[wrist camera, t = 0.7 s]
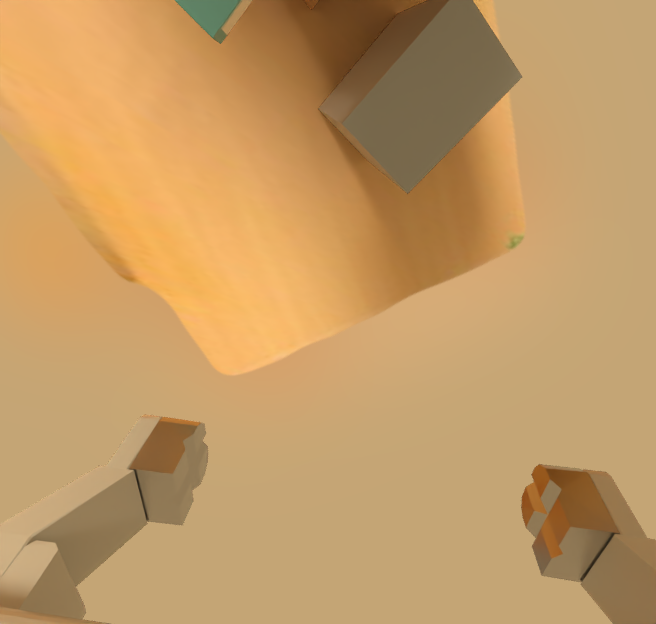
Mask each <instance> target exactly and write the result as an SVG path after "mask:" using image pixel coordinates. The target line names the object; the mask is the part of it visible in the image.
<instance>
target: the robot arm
mask: <svg viewBox="0 0 656 624" xmlns="http://www.w3.org/2000/svg"><path fill="white" fill-rule="evenodd" d="M205 434H206V431H205V425H204V424H203V423H200V422H194V421H188V420H181V419H174V418H168V417H158V416H152V415H143V416H142V417H140V418H139V419H138V420H137V422H136V423H135V425H134V426H133V428H132V429H131V430H130V432H129V433H128V435H127V436H126V437H125V439H124V440H123V442H122V443H121V444H120V446H119V447H118V449H117V450H116V452H115V453H114V454H113V456H112V457H111V459H110V460H109V462H108V463H107V465H106V466H98V467H96V468H94V469H93V470H91V471H89V472H87V473H86V474H84V475H83V476H81V477H79V478H77V479H76V480H74V481H72V482H70V483H69V484H67V485H65V486H64V487H62V488H60V489H59V490H57V491H55V492H53V493H52V494H50V495H48V496H47V497H45V498H43V499H42V500H40V501H38V502H36V503H35V504H33V505H31V506H30V507H28V508H26V509H25V510H23V511H21V512H20V513H18V514H16V515H14V516H13V517H11V518H9V519H8V520H6V521H4V522H2V523H1V524H0V624H109V623H102V622H96V621H89V620H83V617H84V615H85V613H86V610H85V605H84V603H83V601H82V599H81V597H80V595H79V592H78V590H77V588H76V586H77V585H78V584H80V583H81V582H82V581H83V580H84V579H85V578H86V577H88V576H89V575H90V574H91V573H92V572H93V571H94V570H95V569H97V568H98V567H99V566H100V565H101V564H102V563H103V562H105V561H106V560H107V559H108V558H109V557H110V556H111V555H112V554H114V553H115V552H116V551H117V550H118V549H119V548H120V547H122V546H123V545H124V544H125V543H126V542H127V541H128V540H129V539H131V538H132V537H133V536H134V535H135V534H136V533H137V532H138V531H139V530H141V529H142V528H143V527H144V526H145V525H146V524H147V521H148V522H157V523H166V524H175V525H183V523H184V521H185V518H186V516H187V514H188V512H189V509H190V507H191V505H192V502H193V494H192V490H193V489H194V488H196V487H197V486H199V485H200V484H201V482H202V479H203V476H204V474H205V471H206V466H207V462H208V446H207V445H206V444H205V443H204V442H203V439H204V437H205ZM532 477H533V479H534V482H533V483H532V484H530V485H528V486H527V487H526V488H525V490H524V493H523V495H522V506H521V508H522V516H523V519H524V523H525V526H526V528H527V529H528V530H529V531H530V532H531V533H532V534H533V536H535V538H536V539H535V541H534V543H533V545H532V548H533V551H534V554H535V557H536V560H537V563H538V566H539V569H540V572H541V575H542V576H547V577H553V578H559V579H565V580H571V581H577V582H582V583H581V585H582V587H583V588H584V589H585V590H586V591H587V593H588V594H589V595H590V596H591V597H592V599H593V600H594V601H595V602H596V603H597V605H598V606H599V607H600V608H601V610H602V611H603V612H604V613H605V614H606V616H607V617H608V618H609V619H610V620H611V622H612V623H613V624H656V540H655V539H649V538H647V537H646V535H645V533H644V531H643V530H642V528H641V526H640V524H639V523H638V521H637V519H636V518H635V516H634V514H633V513H632V511H631V509H630V507H629V506H628V504H627V502H626V501H625V499H624V497H623V496H622V494H621V492H620V490H619V489H618V487H617V485H616V484H615V482H614V480H613V479H612V477H611V476H610V475H609V474H608V473H607V472H602V471H593V470H581V469H577V468H568V467H560V466H551V465H542V464H539V465H538V466H536V467H535V468H534V470H533V473H532Z"/></svg>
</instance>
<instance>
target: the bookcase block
mask: <svg viewBox="0 0 656 624" xmlns="http://www.w3.org/2000/svg"><path fill="white" fill-rule="evenodd" d="M303 1H304V2H305V3H306V4H307V5H308V7H309V8H310V9H311V10H312V9H313V7H314V6H315V5H316V4H317V2H318V1H319V0H303Z"/></svg>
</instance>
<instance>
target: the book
mask: <svg viewBox="0 0 656 624" xmlns="http://www.w3.org/2000/svg"><path fill="white" fill-rule="evenodd" d="M175 1H176V2H177V3H178V4H179V5H180V6H181V7H182V8H183V9H184V10H185V11H186V12H187V13H188V14H189V15H190V16H191V17H192V18H193V19H194V20H195V21H196V22H197V23H198V24H199V25H200V26H201V27H202V28H203V29H204V30H205V31H206V32H207V33H208V34H209V35H210V36H211V37H212V38H213V39H215V40H216V41H217V42H219V43H220V44H221V43H222V42H223V40H224V39H225V38H226V36H227V35H228V34H229V32H230V31H231V30H232V28H233V27H234V25H235V24H236V23H237V21H238V20H239V18H240V17H241V16H242V14H243V13H244V12H245V10H246V9H247V7H248V6H249V5H250V3H251V2H252V0H175Z"/></svg>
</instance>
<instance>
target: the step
mask: <svg viewBox="0 0 656 624" xmlns="http://www.w3.org/2000/svg"><path fill="white" fill-rule="evenodd" d="M521 78H522V75H521V74H520V72H519V71H518V69H517V68H516V66H515V65H514V63H513V62H512V60H511V59H510V57H509V56H508V54H507V52H506V51H505V50H504V48H503V46H502V45H501V43H500V42H499V40H498V39H497V37H496V35H495V34H494V32H493V31H492V29H491V28H490V26H489V25H488V23H487V22H486V20H485V18H484V17H483V15H482V14H481V12H480V11H479V9H478V8H477V6H476V5H475V3H474V2H473V0H427V1H425V2H423V3H421V4H418V5H416V6H414V7H412V8H409V9H407V10H405V11H403V12H400V13H398V14H397V15H396V16H395V18H394V19H393V20H392V21H391V22H390V23H389V25H388V26H387V27H386V28H385V29H384V31H383V32H382V33H381V34H380V35H379V37H378V38H377V39H376V40H375V41H374V43H373V44H372V45H371V46H370V47H369V49H368V50H367V51H366V52H365V53H364V54H363V56H362V57H361V58H360V59H359V60H358V62H357V63H356V64H355V65H354V66H353V68H352V69H351V70H350V71H349V72H348V74H347V75H346V76H345V77H344V78H343V80H342V81H341V82H340V83H339V84H338V85H337V87H336V88H335V89H334V90H333V91H332V93H331V94H330V95H329V96H328V97H327V99H326V100H325V101H324V102H323V103H322V105H321V106H320V107H319V108H318V109H319V110H320V111H321V112H322V113H323V114H324V116H325V117H326V118H327V119H328V120H329V121H330V122H331V123H332V124H333V125H334V126H335V127H336V128H337V129H338V130H339V131H340V132H341V133H342V134H343V135H344V137H345V138H346V139H347V140H348V141H349V142H350V143H351V144H352V145H353V146H354V147H355V148H356V149H357V150H358V151H359V152H360V153H361V154H362V155H363V156H364V157H365V159H366V160H367V161H369V162H370V163H371V164H372V165H373V166H375V167H376V168H377V169H378V170H380V171H381V172H382V173H383V174H384V175H386V176H387V177H388V178H389V179H390V180H392V181H393V182H394V183H395V184H396V185H398V186H399V187H400V188H401V189H402V190H404V191H405V192H406V193H407V194H408V193H409V192H410V191H411V190H412V189H413V188H414V187H415V186H416V185H417V184H418V183H419V182H420V181H421V180H422V179H423V178H424V177H425V176H426V175H427V174H428V173H429V172H430V171H431V170H432V169H433V168H434V167H435V165H436V164H437V163H438V162H439V161H440V160H441V159H442V158H443V157H444V156H445V155H446V154H447V153H448V152H449V151H450V150H451V149H452V148H453V147H454V146H455V145H456V144H457V143H458V142H459V141H460V140H461V139H462V138H463V137H464V136H465V135H466V134H467V133H468V132H469V131H470V130H471V129H472V128H473V127H474V126H475V125H476V124H477V123H478V122H479V121H480V120H481V119H482V118H483V117H484V116H485V115H486V114H487V113H488V112H489V110H490V109H491V108H492V107H493V106H494V105H495V104H496V103H497V102H498V101H499V100H500V99H501V98H502V97H503V96H504V95H505V94H506V93H507V92H508V91H509V90H510V89H511V88H512V87H513V86H514V85H515V84H516V83H517V82H518V81H519V80H520V79H521Z"/></svg>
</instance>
